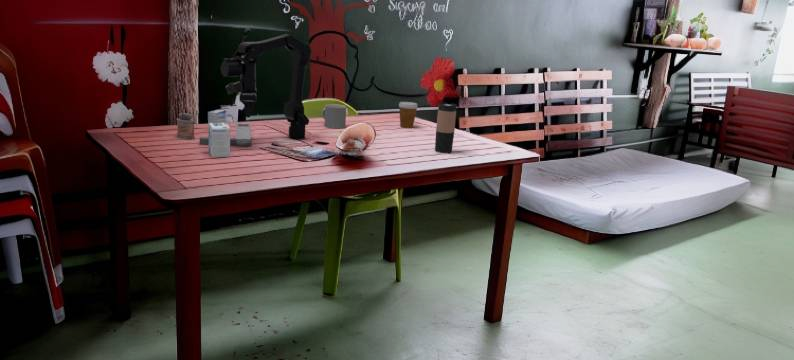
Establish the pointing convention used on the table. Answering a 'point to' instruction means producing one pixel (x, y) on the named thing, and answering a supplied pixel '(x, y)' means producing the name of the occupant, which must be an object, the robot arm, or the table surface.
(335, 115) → the coffee mug
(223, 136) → the light bulb box
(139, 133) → the table surface
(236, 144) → the ratchet
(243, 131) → the socket
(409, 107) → the disposable coffee cup
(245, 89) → the robot arm
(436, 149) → the travel mug
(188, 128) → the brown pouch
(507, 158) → the table surface
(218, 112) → the medicine box
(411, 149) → the table surface
